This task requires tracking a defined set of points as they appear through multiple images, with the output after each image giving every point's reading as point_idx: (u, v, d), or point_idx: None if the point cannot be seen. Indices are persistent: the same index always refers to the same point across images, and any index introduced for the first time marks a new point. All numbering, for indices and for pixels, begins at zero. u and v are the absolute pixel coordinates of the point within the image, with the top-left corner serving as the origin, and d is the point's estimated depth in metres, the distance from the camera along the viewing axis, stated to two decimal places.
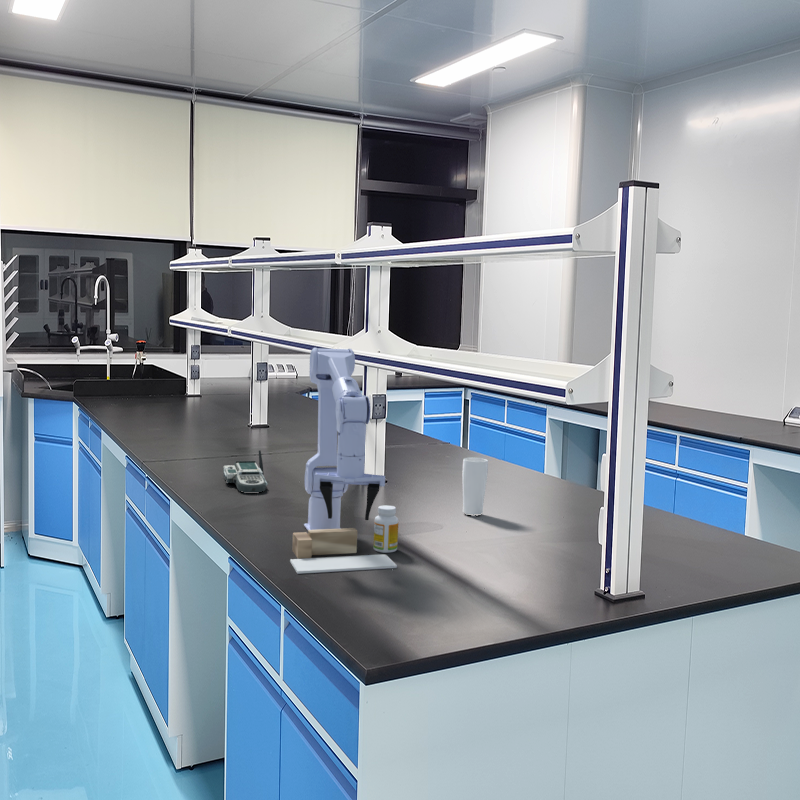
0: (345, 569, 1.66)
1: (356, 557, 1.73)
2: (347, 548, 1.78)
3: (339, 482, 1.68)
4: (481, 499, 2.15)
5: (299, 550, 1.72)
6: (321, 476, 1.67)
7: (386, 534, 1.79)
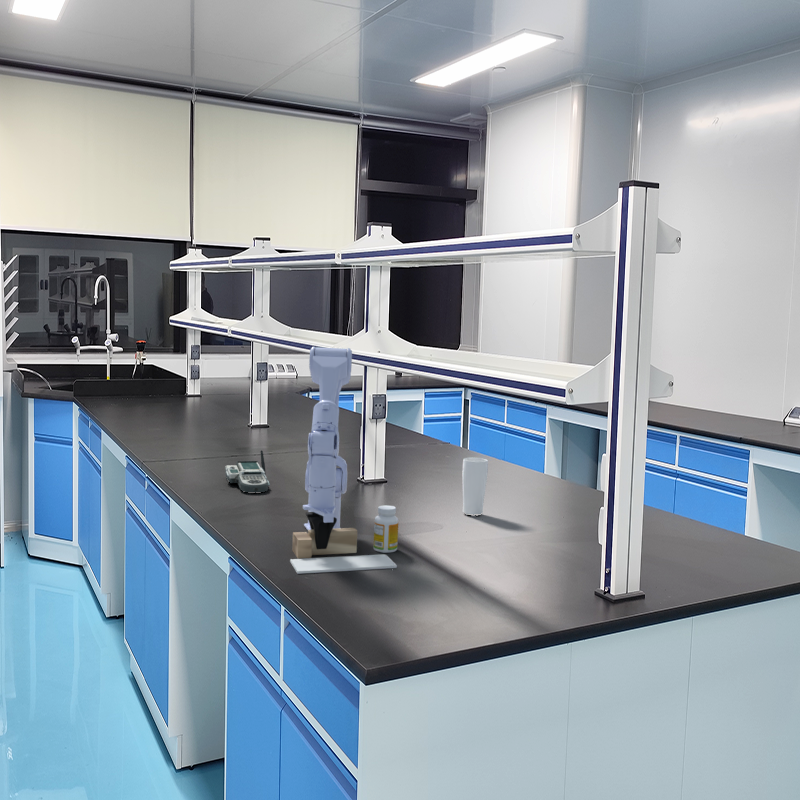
0: (345, 569, 1.66)
1: (356, 557, 1.73)
2: (347, 548, 1.78)
3: None
4: (481, 499, 2.15)
5: (299, 550, 1.72)
6: None
7: (386, 534, 1.79)
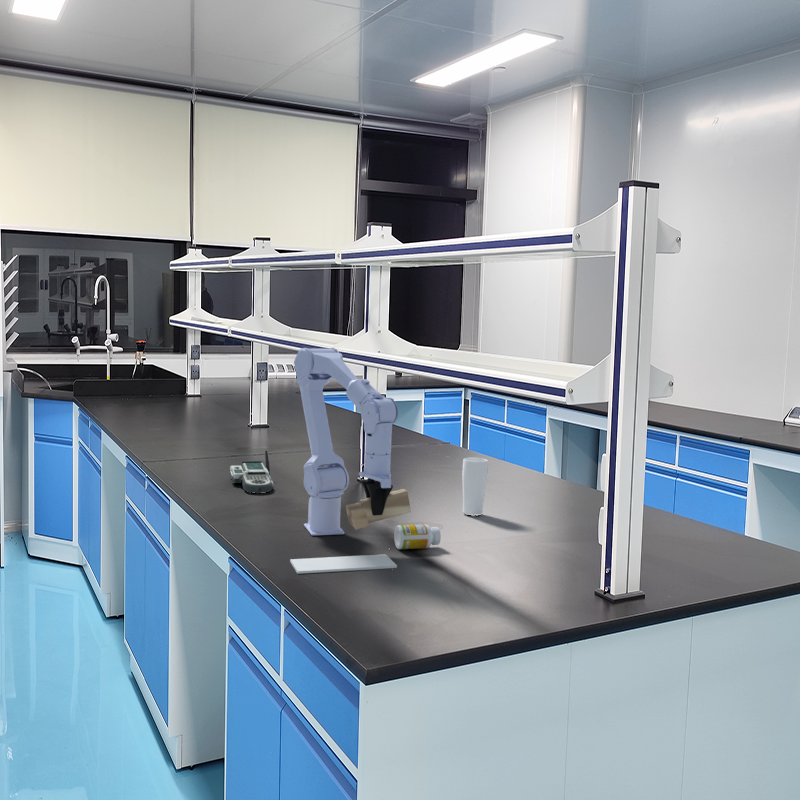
0: (345, 569, 1.66)
1: (356, 557, 1.73)
2: (401, 509, 1.81)
3: None
4: (481, 499, 2.15)
5: (355, 521, 1.76)
6: None
7: (419, 536, 1.81)
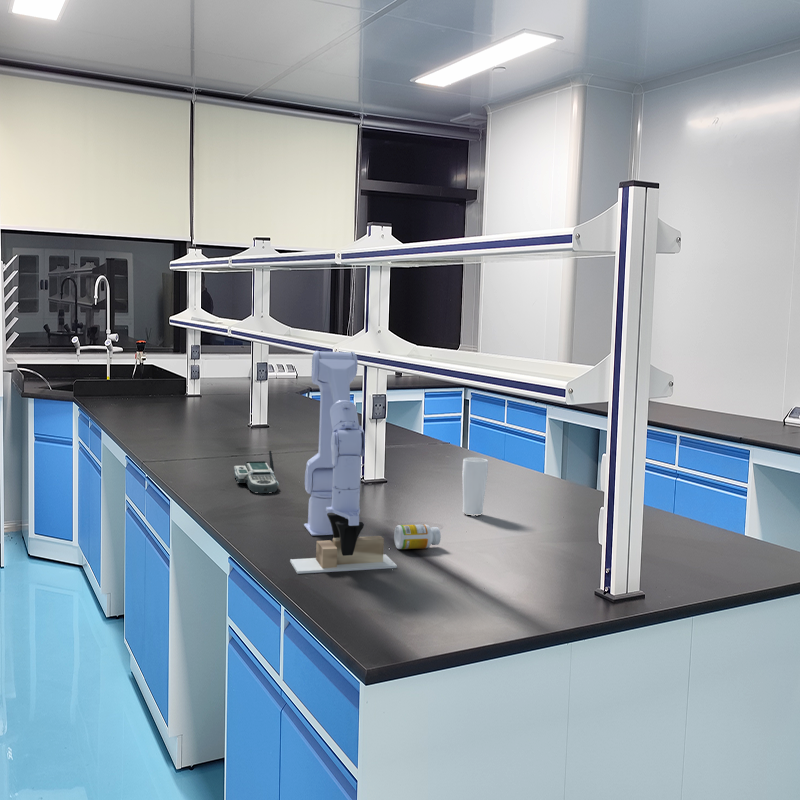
0: (345, 569, 1.66)
1: None
2: (373, 557, 1.70)
3: None
4: (481, 499, 2.15)
5: (324, 559, 1.65)
6: None
7: (419, 536, 1.81)
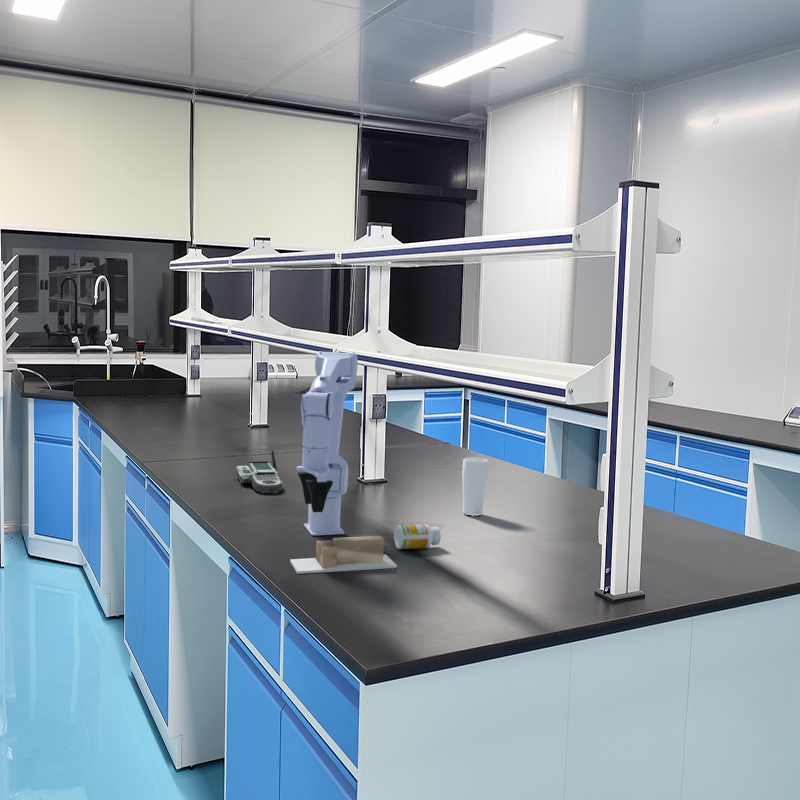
0: (345, 569, 1.66)
1: None
2: (373, 557, 1.70)
3: None
4: (481, 499, 2.15)
5: (324, 559, 1.65)
6: None
7: (419, 536, 1.81)
